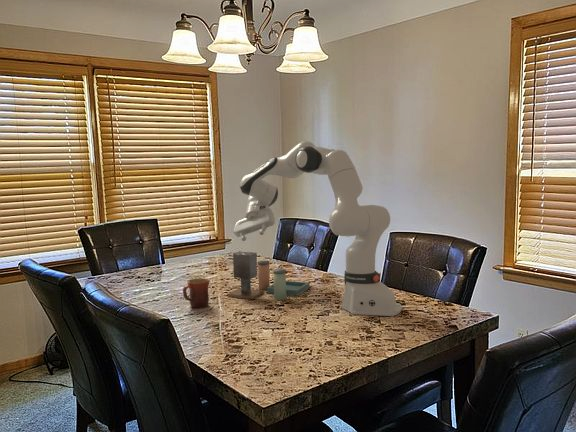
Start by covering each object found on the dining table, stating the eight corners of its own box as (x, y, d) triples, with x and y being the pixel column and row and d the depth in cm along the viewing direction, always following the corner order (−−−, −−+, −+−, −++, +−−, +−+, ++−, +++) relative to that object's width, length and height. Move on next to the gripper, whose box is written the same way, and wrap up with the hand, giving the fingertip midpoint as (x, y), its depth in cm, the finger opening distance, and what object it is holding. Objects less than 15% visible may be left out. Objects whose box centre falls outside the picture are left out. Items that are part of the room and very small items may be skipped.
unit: (264, 293, 206) (262, 252, 204) (253, 299, 197) (251, 256, 195) (239, 290, 211) (238, 250, 209) (227, 296, 202) (226, 254, 200)
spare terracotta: (271, 287, 217) (271, 260, 215) (266, 289, 212) (266, 263, 211) (261, 286, 219) (261, 260, 217) (256, 288, 214) (255, 262, 213)
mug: (200, 301, 196) (199, 277, 195) (215, 305, 191) (214, 279, 189) (177, 309, 186) (175, 283, 185) (192, 313, 181) (191, 286, 180)
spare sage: (288, 297, 199) (287, 269, 198) (283, 301, 194) (282, 272, 193) (277, 296, 201) (276, 268, 200) (271, 299, 196) (271, 271, 195)
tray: (309, 287, 214) (309, 282, 214) (297, 296, 201) (296, 290, 201) (280, 285, 220) (280, 280, 219) (267, 292, 207) (267, 287, 207)
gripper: (232, 217, 228) (229, 239, 218) (270, 204, 220) (268, 225, 211) (239, 226, 231) (236, 247, 222) (277, 212, 224) (275, 234, 215)
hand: (252, 236), depth 216 cm, fingers open, 8 cm apart
